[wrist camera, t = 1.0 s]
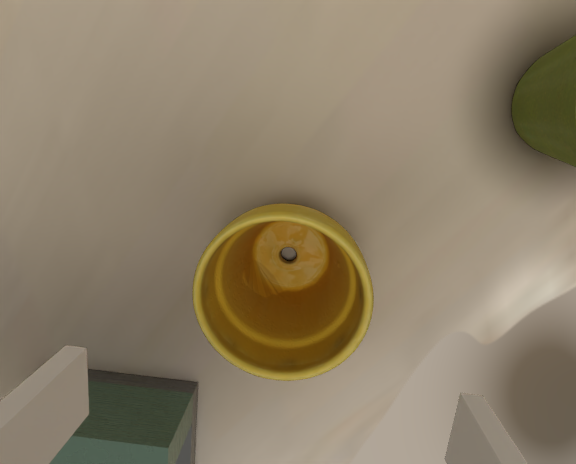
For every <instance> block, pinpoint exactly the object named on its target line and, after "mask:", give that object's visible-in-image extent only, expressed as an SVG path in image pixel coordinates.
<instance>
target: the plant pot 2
mask: <svg viewBox="0 0 576 464" xmlns="http://www.w3.org/2000/svg"><path fill="white" fill-rule="evenodd" d="M512 118H513V123H514V126H515V129H516V131H517V133H518V134H519V136H520V137H521V138H522V139H523V140H524V141H525V142H526V143H527V144H528V145H530V146H531V147H532V148H534V149H535V150H537V151H540V152H542V153H544V154H546V155H549V156H551V157H553V158H556V159H558V160H561V161H563V162H566V163H568V164H570V165H573V166H575V167H576V35H575V36H574V37H572V38H570V39H569V40H567V41H566V42H564V43H562V44H561V45H559V46H558V47H556V48H554V49H553V50H551V51H550V52H548V53H546V54H545V55H543V56H542V57H541V58H539V59H538V60H537V61H536V62H535V63H534V64H533V65H532V66H531V67H530V68H529V69H528V70H527V72H526V73H525V74H524V75H523V77H522V78H521V79H520V81H519V83H518V85H517V87H516V89H515V93H514V96H513V100H512Z"/></svg>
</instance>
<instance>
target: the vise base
mask: <svg viewBox="0 0 576 464" xmlns="http://www.w3.org/2000/svg"><path fill="white" fill-rule="evenodd" d="M88 396H89V415H88V416H87V417H86V418H85V420H84V421H83V422H82V423H81V425H80V426H79V427H78V428H77V430H76V431H75V432H74V433H73V435H72V436H71V437H70V438H69V440H68V441H67V442H66V443H65V445H64V446H63V447H62V448H61V450H60V451H59V452H58V453H57V455H56V456H55V457H54V458H53V460H52V461H51V462H50V463H49V464H195V442H196V420H197V398H198V383H197V382H189V381H181V380H173V379H164V378H156V377H148V376H140V375H131V374H123V373H115V372H107V371H98V370H90V369H88Z"/></svg>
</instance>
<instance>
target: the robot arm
mask: <svg viewBox="0 0 576 464" xmlns="http://www.w3.org/2000/svg"><path fill="white" fill-rule="evenodd" d="M88 415H89V396H88V368H87V348H84V347H76V346H68V345H65V346H64V347H63V348H62V349H61V350H60V351H58V352H57V353H56V354H55V355H54V356H53V357H51V358H50V359H49V360H48V361H47V362H46V363H44V364H43V365H42V366H41V367H40V368H38V369H37V370H36V371H35V372H34V373H33V374H31V375H30V376H29V377H28V378H27V379H26V380H24V381H23V382H22V383H21V384H20V385H19V386H17V387H16V388H15V389H14V390H13V391H11V392H10V393H9V394H8V395H7V396H6V397H4V398H3V399H2V400H1V401H0V464H49V463H50V462H51V461H52V460H53V458H54V457H55V456H56V455H57V453H58V452H59V451H60V450H61V448H62V447H63V446H64V445H65V443H66V442H67V441H68V440H69V438H70V437H71V436H72V435H73V433H74V432H75V431H76V430H77V428H78V427H79V426H80V425H81V423H82V422H83V421H84V420H85V418H86V417H87V416H88ZM445 461H446V463H447V464H527V462H526V460H525V459H524V457H523V456H522V454H521V453H520V451H519V450H518V448H517V447H516V445H515V444H514V442H513V440H512V439H511V438H510V436H509V434H508V433H507V431H506V430H505V428H504V427H503V425H502V424H501V422H500V421H499V419H498V418H497V416H496V415H495V413H494V412H493V410H492V409H491V407H490V406H489V404H488V403H487V401H486V399H485V398H484V396H482V395H475V394H466V393H460V396H459V401H458V405H457V409H456V413H455V418H454V422H453V426H452V430H451V435H450V439H449V443H448V447H447V452H446V456H445Z"/></svg>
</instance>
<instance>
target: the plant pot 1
mask: <svg viewBox="0 0 576 464" xmlns="http://www.w3.org/2000/svg"><path fill="white" fill-rule="evenodd" d="M285 247H291V248H293V249H294V250H295V251H296V253H297V256H296V258H295V259H294V260H293V261H286V260H284V259H283V258H282V256H281V250H282V249H283V248H285ZM193 305H194V310H195V314H196V317H197V320H198V323H199V325H200V327H201V329H202V331H203V333H204V335H205V337H206V338H207V340H208V341H209V342H210V344H211V345H212V346H213V347H214V349H215V350H216V351H217V352H218V353H219V354H220V355H221V356H223V357H224V358H225V359H226V360H227V361H229V362H230V363H231V364H233V365H235V366H236V367H238V368H240V369H242V370H244V371H246V372H248V373H250V374H253V375H255V376H258V377H262V378H267V379H273V380H283V381H291V380H300V379H307V378H311V377H314V376H317V375H320V374H323V373H325V372H327V371H329V370H331V369H333V368H335V367H336V366H338V365H340V364H341V363H342V362H343V361H345V360H346V359H347V358H348V357H349V356H350V355H351V354H352V353H353V352H354V351H355V350H356V348H357V347H358V346H359V344H360V343H361V341H362V340H363V338H364V336H365V334H366V332H367V330H368V327H369V324H370V320H371V317H372V311H373V287H372V281H371V277H370V274H369V271H368V268H367V265H366V262H365V260H364V258H363V255H362V253H361V251H360V250H359V248H358V246H357V244H356V243H355V241H354V240H353V238H352V237H351V236H350V235H349V234H348V232H347V231H346V230H345V229H344V228H343V227H342V226H341V225H340V224H338V223H337V222H336V221H335V220H333V219H332V218H330V217H329V216H327V215H325V214H323V213H322V212H319V211H317V210H315V209H312V208H309V207H305V206H301V205H296V204H270V205H265V206H261V207H257V208H255V209H252V210H250V211H248V212H246V213H244V214H242V215H240V216H239V217H237V218H236V219H235V220H233V221H232V222H231V223H229V224H228V225H227V226H226V227H225V228H224V229H223V230H221V231H220V232H219V233H218V235H217V236H216V237H215V238H214V239H213V240H212V241H211V242H210V244H209V245H208V246H207V248H206V249H205V251H204V252H203V254H202V256H201V258H200V260H199V263H198V265H197V268H196V271H195V276H194V281H193Z"/></svg>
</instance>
